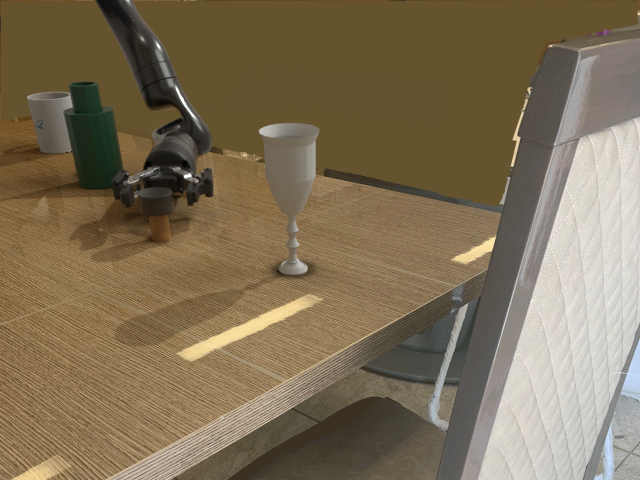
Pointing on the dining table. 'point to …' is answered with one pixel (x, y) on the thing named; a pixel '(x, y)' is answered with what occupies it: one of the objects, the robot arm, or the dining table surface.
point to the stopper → (157, 210)
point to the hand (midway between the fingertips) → (158, 199)
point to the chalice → (290, 177)
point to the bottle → (92, 137)
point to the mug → (50, 120)
